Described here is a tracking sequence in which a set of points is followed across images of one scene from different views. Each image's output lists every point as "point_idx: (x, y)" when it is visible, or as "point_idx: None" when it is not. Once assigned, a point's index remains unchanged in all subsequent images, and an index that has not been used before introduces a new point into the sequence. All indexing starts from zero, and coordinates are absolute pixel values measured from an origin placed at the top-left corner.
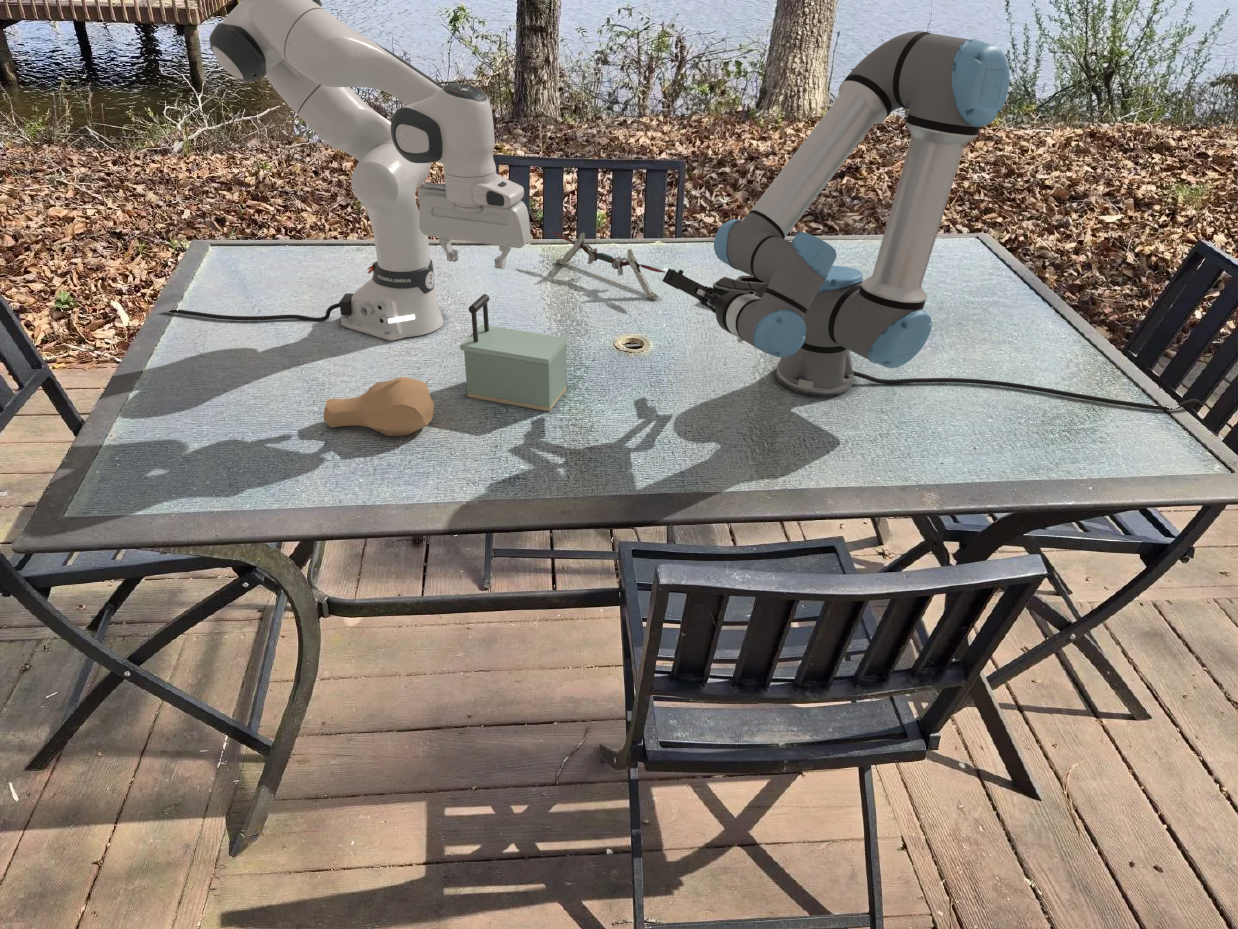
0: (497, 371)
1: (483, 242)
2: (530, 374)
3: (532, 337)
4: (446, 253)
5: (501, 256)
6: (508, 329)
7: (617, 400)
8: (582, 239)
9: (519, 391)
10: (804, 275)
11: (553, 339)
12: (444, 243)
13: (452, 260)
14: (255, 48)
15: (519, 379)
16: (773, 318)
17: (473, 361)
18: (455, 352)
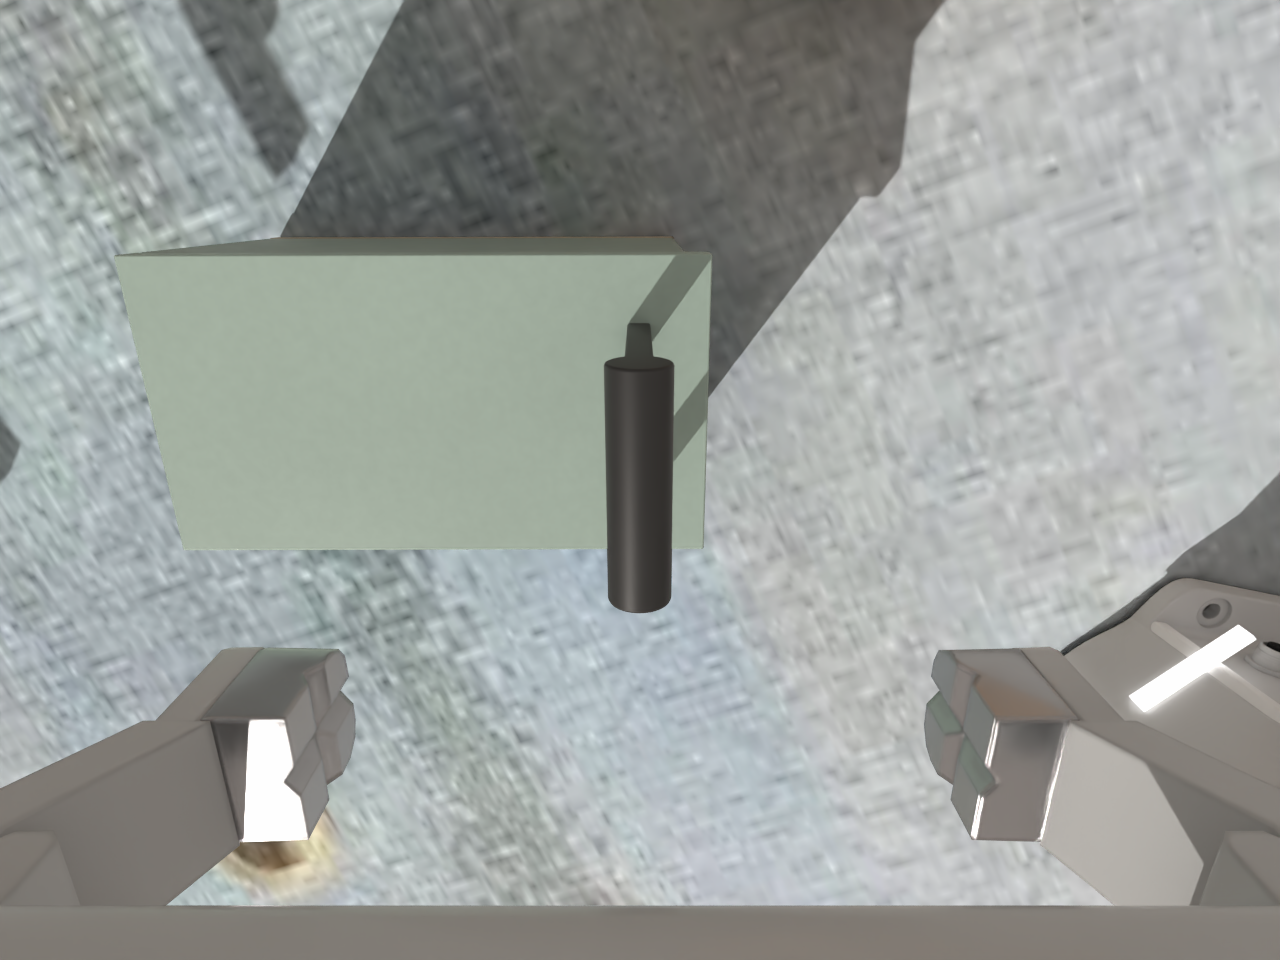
0: (489, 245)
1: (276, 913)
2: (291, 247)
3: (357, 495)
4: (1110, 708)
5: (110, 759)
6: (532, 542)
7: (80, 425)
8: None
9: (396, 241)
10: None
11: (237, 510)
12: (1251, 841)
13: (973, 650)
14: None
15: (371, 244)
16: None
17: (628, 248)
18: (876, 576)
